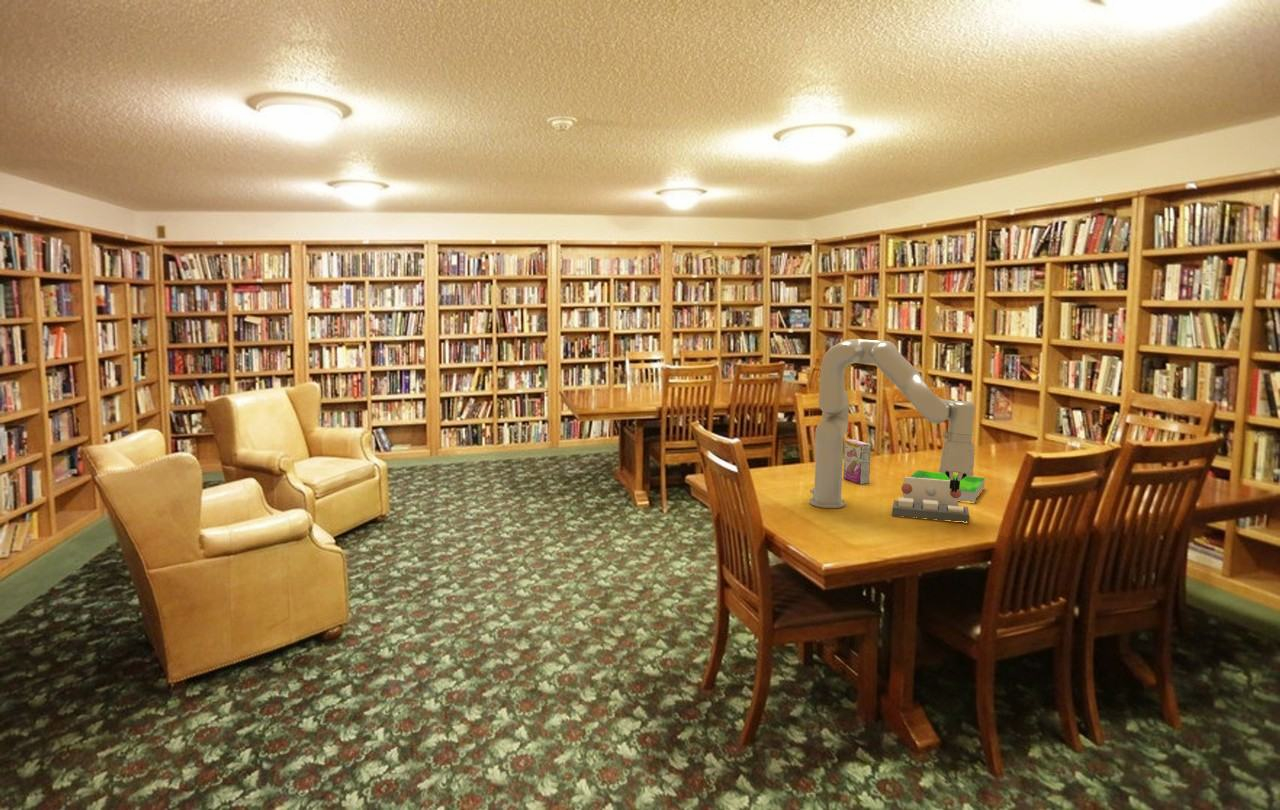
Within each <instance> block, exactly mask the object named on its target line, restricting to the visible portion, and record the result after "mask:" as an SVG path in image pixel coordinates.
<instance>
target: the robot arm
mask: <svg viewBox="0 0 1280 810" xmlns="http://www.w3.org/2000/svg"><path fill="white" fill-rule="evenodd" d="M855 363H857V364H858V363H859V364H873V365H875V366H876V367H877V368H878V369H879V370H880V371H881V372H882V373H883V374H884V375H885V376H886V378H888V379H889V380H890V381H891V383H893V384H894V386H895V387H896V388H897V389H898V390H899V392H900V393H901V394H903V395H904V397H905V398H906V399H907V400H908V402H910V404H911V405H912V406H913V407H914V408H915V410H917V411H918V412H919V413H920V415H922V417H924V418H925V419H926V420H927V421H928V422H930V423H931V424H941V423H942V424H943V423H945V421H947V420H948V427H947V431H946V432H944V433H942V437H943V438H946V439H945V440H944V443H943V446H942V450H941V455H940V465H939V468H938V473H943V474H946V475H947V476H948V477H949V479H950V489H951V491H952V492H957V490H959V486H960V481H961V480H962V479H963V478H965V477H968V476H971V477H974V468H975V467H974V465H975V445H974V442H972V440H973V431H974V423H975V414H976V413H975V412H976V405H975V404H974V403H973V402H971V401H967V400H966V401H965V400H953V399H952V400H951V399H946V398H943V397H942V398H941V397H938V396H937V395H936V394H935V393H934V392H933V391H932V390H931V389H930V388H929V386H928V385H927V384H926V383H925V381H924V380H923V378H922V375H921V374H920V372H919V371H918V370H917V369H916V367H914V365H912V364H911V363H910V362H909V361H908V359H906V357H904V355H903V354H901V352H900V351H898V348H897V346H896V345H895V344H894V343H893V342H892V341H889V340H877V339H875V340H872V339H859V338H855V339H854V338H852V339H850V338H849V339H847V340H843V341H840V342H838V343H837V344H834V345H833V346H832V347H830V348H829V349H828V350H827V351H826V352H825V354H824V355H823V357H822V360H821V364H820V373H819V374H820V376H819V389H818V391H819V392H818V393H819V394H818V407H819V409H820V410H821V411H822V413H821V420H820V421H819V423H818V424H817V426H816V428H815V433H814V444H815V445H814V446H815V454H814V455H815V459H814V461H815V463H814V464H815V466H814V487H813V489H810V490H809V493H810V494H812V497H810V499H809V504H810V505H812V506H814V507H817V508H823V509H840V508H843V507H845V506H846V501H845V500H844V499H842V490H843V489H842V487H843V486H842V485H843V484H842V483H843V467H844V449H843V448H844V447H843V446H844V443H843V442H844V437H845V436H846V434H847V433H848V428H849V412H850V411H849V410H850V399H849V398H850V396H849V394H848V391H847V390H846V389H845V380H846V376H845V375H846V372H845V371H846V368H847V367H848V365H852V364H855ZM954 473H957V475H958V476H957V478H956V479H955V478H954V477H953V474H954ZM954 486H955V487H954Z"/></svg>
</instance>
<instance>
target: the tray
mask: <svg viewBox="0 0 1280 810" xmlns="http://www.w3.org/2000/svg"><path fill="white" fill-rule="evenodd" d="M957 476H958V474H954V473H953V477H954V478H955V479H956V478H957ZM910 477H913V478H925V479H937V480H949V481H950V479H949V477H948V476H947V475H946V474H943V473H940V472H937V471H936V472H935V471H930V470H929V471H927V470H919V469H918V470H916V471H915V472H914V473H913V474H912V475H910ZM985 479H986V478H985V477H979V476H968V477H965V478H963V479H962V480H961V481H960V486H959V489H960V490H961V496H960V497H959V499H958V500H960V501H970V502H974V501H975V500H976V498H977V497H978V495H979V494H980V493H981V491H982V490H983V488H984V489H985ZM902 485H904V482H903V483H902ZM983 491H984V490H983ZM903 494H904V493H903V492H902V495H903ZM981 494H982V493H981ZM978 498H979V497H978ZM976 501H977V500H976Z"/></svg>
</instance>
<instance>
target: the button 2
mask: <svg viewBox="0 0 1280 810" xmlns="http://www.w3.org/2000/svg"><path fill="white" fill-rule="evenodd" d="M963 507H964V506H961V507H960V506H959V505H958V506H949V505H948V511H950V512H961V513H964V509H963Z"/></svg>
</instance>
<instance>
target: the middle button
mask: <svg viewBox="0 0 1280 810" xmlns="http://www.w3.org/2000/svg"><path fill="white" fill-rule="evenodd" d="M923 509H930V510H938V501H933V500H923Z"/></svg>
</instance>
